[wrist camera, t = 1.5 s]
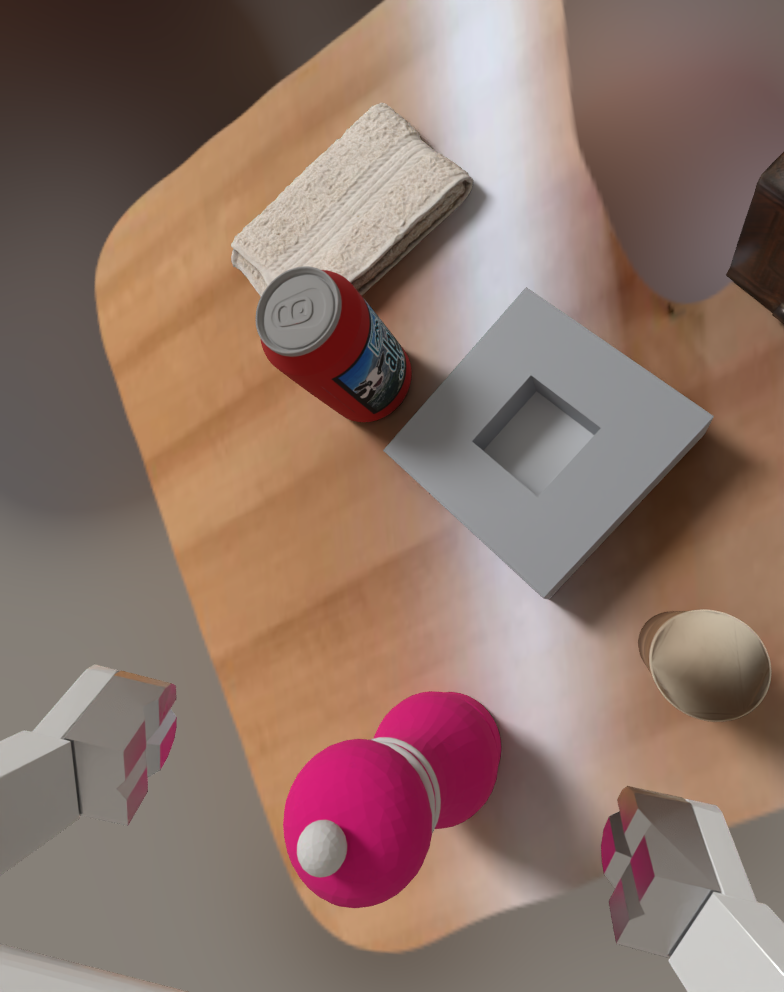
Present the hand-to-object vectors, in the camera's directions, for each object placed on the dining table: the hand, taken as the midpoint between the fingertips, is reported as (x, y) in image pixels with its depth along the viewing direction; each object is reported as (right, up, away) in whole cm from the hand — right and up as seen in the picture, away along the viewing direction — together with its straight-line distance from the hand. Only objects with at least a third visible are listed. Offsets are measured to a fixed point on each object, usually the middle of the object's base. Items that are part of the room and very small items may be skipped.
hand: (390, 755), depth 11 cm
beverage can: (-1, +13, +35) cm, 38 cm away
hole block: (+10, +8, +30) cm, 32 cm away
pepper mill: (+4, -11, +29) cm, 31 cm away
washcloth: (-3, +26, +39) cm, 47 cm away
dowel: (+17, -4, +25) cm, 30 cm away
